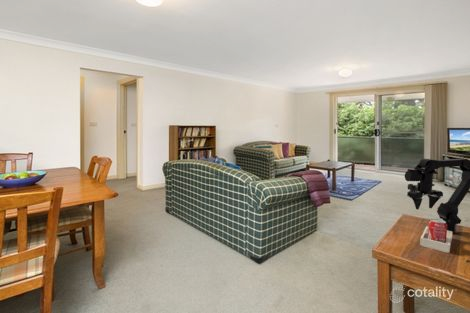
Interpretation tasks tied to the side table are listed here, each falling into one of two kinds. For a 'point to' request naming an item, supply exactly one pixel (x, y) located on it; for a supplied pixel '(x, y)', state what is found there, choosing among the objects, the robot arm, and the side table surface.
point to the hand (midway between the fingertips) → (423, 208)
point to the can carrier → (435, 244)
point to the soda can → (437, 230)
